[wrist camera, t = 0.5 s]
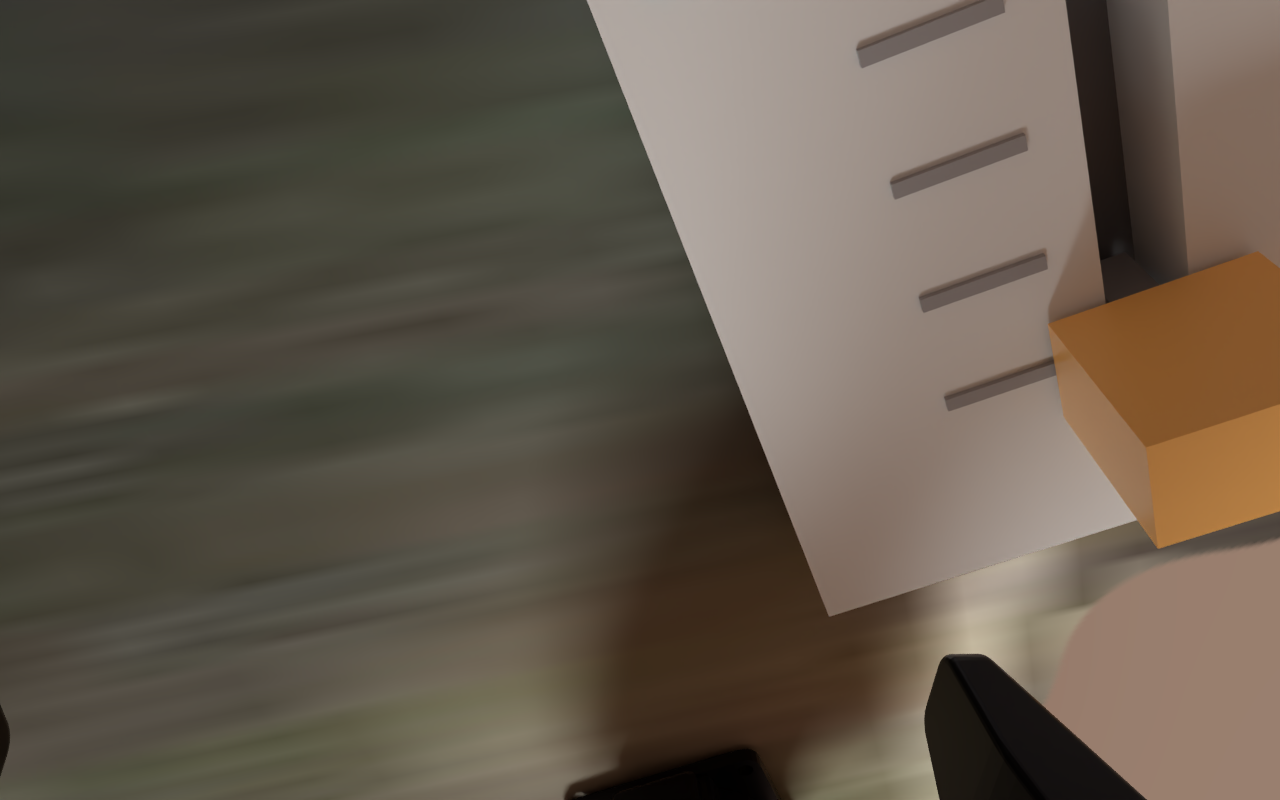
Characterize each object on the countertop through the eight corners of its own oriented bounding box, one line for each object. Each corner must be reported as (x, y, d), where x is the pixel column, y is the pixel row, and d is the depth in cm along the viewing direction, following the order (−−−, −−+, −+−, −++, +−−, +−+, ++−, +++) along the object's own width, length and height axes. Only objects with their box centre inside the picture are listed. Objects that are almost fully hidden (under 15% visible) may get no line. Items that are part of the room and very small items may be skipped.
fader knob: (1201, 296, 23) (1395, 475, 18) (1021, 358, 23) (1158, 548, 18) (1194, 202, 21) (1402, 364, 16) (1004, 270, 22) (1146, 447, 17)
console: (1445, 321, 25) (1552, 395, 22) (803, 532, 27) (830, 621, 24) (1554, -888, 14) (1790, -1025, 11) (457, -362, 16) (439, -373, 13)
